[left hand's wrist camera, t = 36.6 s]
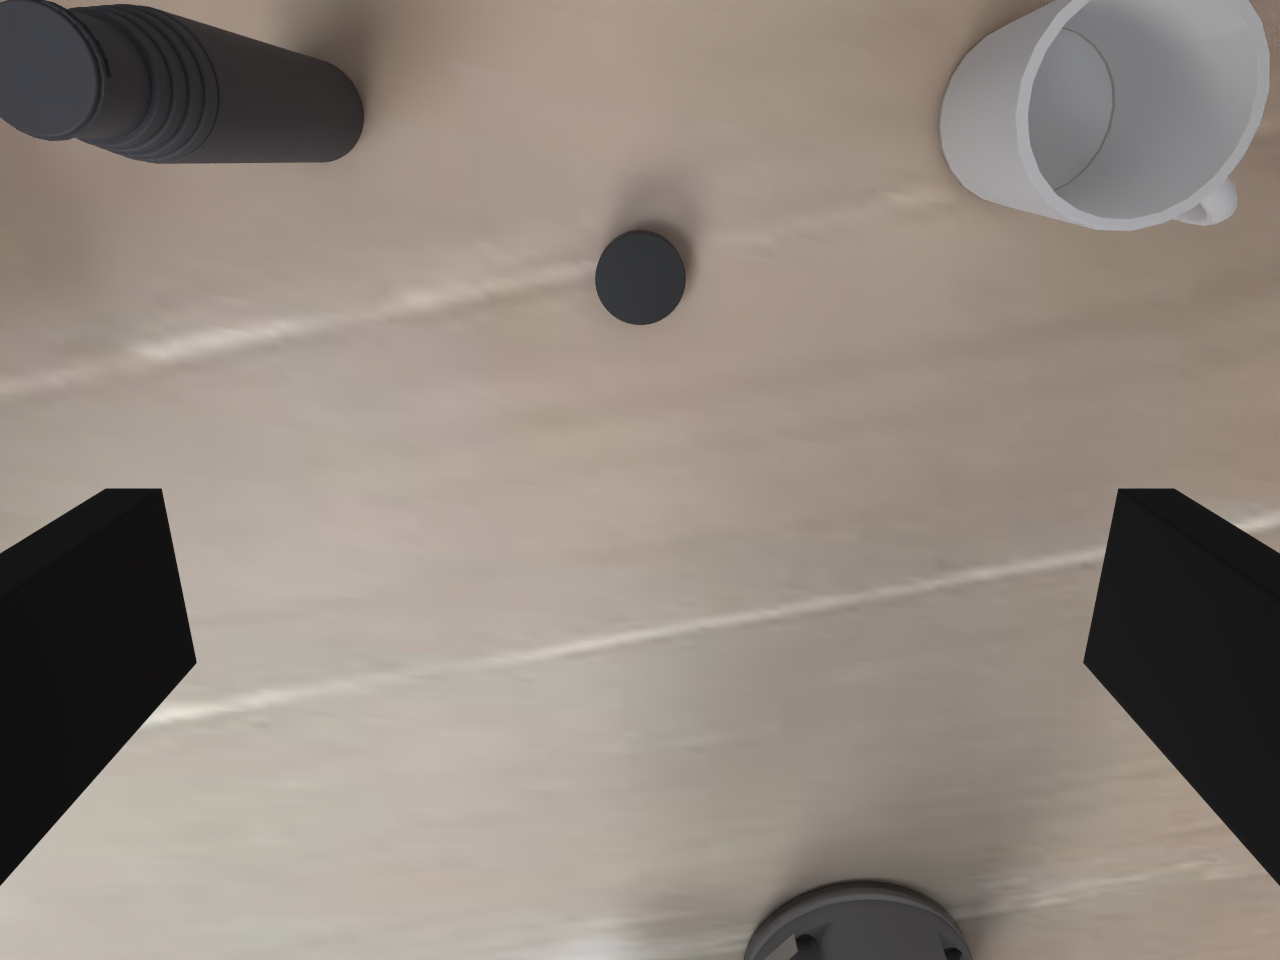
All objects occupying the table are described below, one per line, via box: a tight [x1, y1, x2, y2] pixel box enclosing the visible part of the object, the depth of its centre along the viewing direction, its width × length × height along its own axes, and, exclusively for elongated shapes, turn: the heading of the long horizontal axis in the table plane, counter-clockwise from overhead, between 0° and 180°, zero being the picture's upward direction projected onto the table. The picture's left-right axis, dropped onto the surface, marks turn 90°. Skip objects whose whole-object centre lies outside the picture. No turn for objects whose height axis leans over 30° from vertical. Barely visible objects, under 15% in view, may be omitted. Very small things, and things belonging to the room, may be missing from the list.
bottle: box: [0, 0, 363, 164], centre depth 31 cm, size 4×4×20 cm
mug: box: [938, 0, 1270, 231], centre depth 36 cm, size 11×9×10 cm
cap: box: [595, 231, 685, 325], centre depth 43 cm, size 4×4×2 cm
